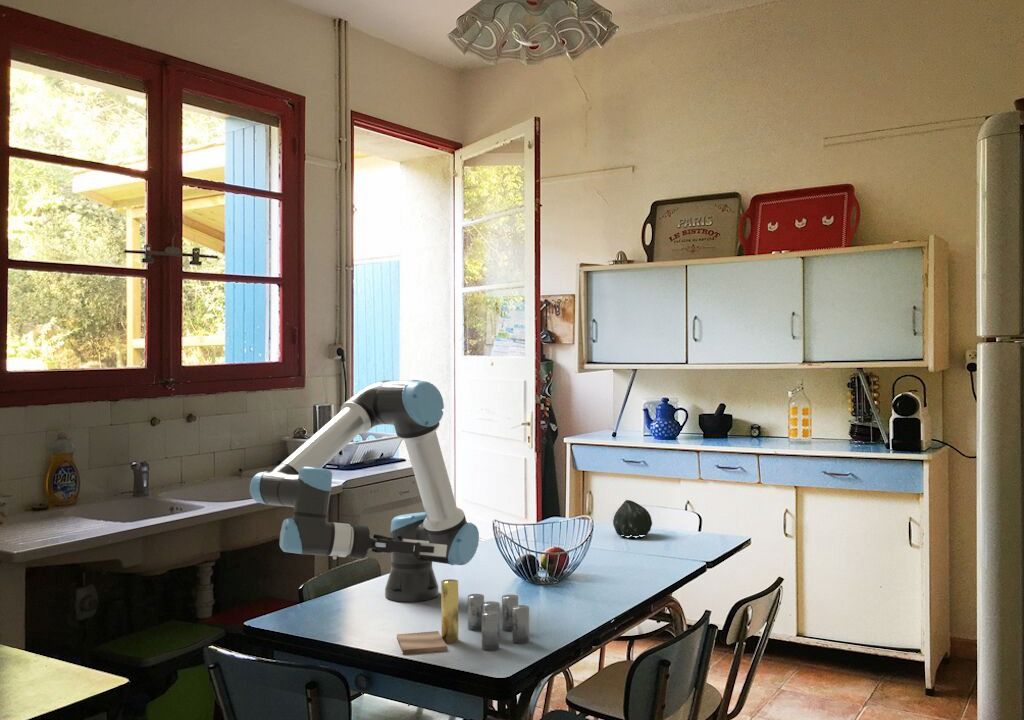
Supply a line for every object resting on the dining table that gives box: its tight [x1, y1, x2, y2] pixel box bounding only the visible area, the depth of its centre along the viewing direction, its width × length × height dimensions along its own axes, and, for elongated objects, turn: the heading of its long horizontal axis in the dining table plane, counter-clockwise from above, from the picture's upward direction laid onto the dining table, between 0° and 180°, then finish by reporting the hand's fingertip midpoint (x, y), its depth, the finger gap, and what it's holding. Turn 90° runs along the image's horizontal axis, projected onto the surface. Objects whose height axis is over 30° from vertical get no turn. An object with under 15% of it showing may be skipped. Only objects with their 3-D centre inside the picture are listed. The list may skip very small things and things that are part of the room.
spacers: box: [467, 593, 530, 652], centre depth 210 cm, size 20×12×8 cm, turn 14°
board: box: [396, 630, 448, 655], centre depth 204 cm, size 12×10×1 cm
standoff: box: [440, 578, 460, 644], centre depth 207 cm, size 4×4×14 cm
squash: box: [612, 499, 653, 536], centre depth 333 cm, size 14×15×15 cm
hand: (436, 548), depth 209 cm, fingers open, 13 cm apart
